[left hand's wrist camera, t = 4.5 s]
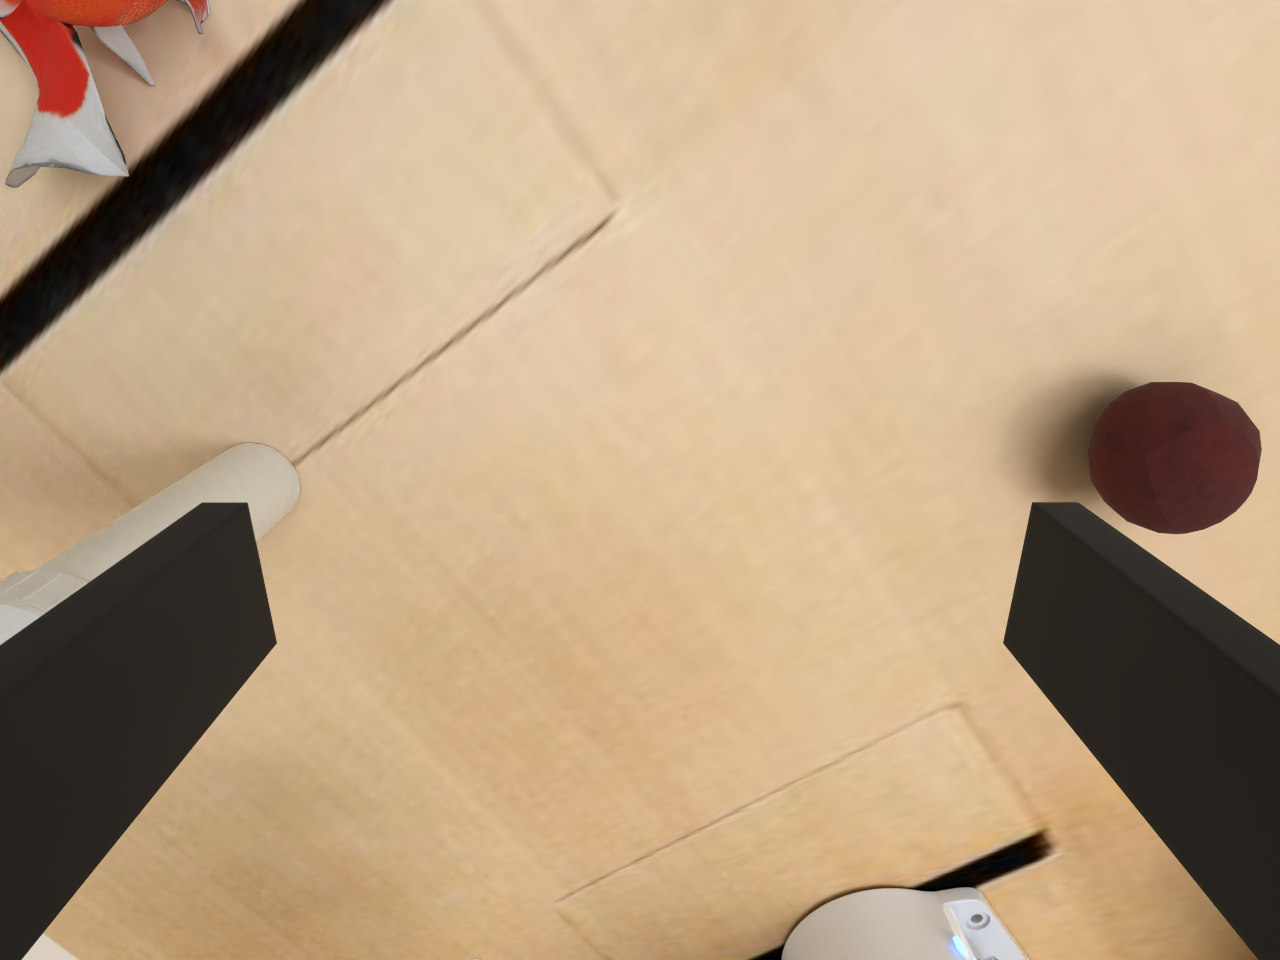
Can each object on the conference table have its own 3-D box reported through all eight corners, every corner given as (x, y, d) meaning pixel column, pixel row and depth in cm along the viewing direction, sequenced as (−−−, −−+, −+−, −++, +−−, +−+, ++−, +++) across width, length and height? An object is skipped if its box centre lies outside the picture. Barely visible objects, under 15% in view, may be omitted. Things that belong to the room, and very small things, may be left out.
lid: (88, 713, 29) (42, 757, 27) (-40, 630, 28) (-100, 669, 26) (162, 631, 28) (120, 670, 26) (32, 539, 26) (-24, 572, 24)
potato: (1091, 521, 43) (1172, 581, 36) (1038, 413, 40) (1115, 456, 34) (1216, 454, 41) (1326, 504, 35) (1169, 338, 39) (1277, 368, 32)
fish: (333, 71, 30) (45, -3, 22) (178, 252, 39) (-68, 246, 31) (232, -176, 30) (-96, -343, 22) (99, 62, 39) (-169, 7, 31)
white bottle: (269, 535, 43) (47, 739, 27) (199, 481, 42) (-75, 661, 26) (317, 482, 42) (116, 662, 26) (247, 425, 41) (-10, 577, 25)
